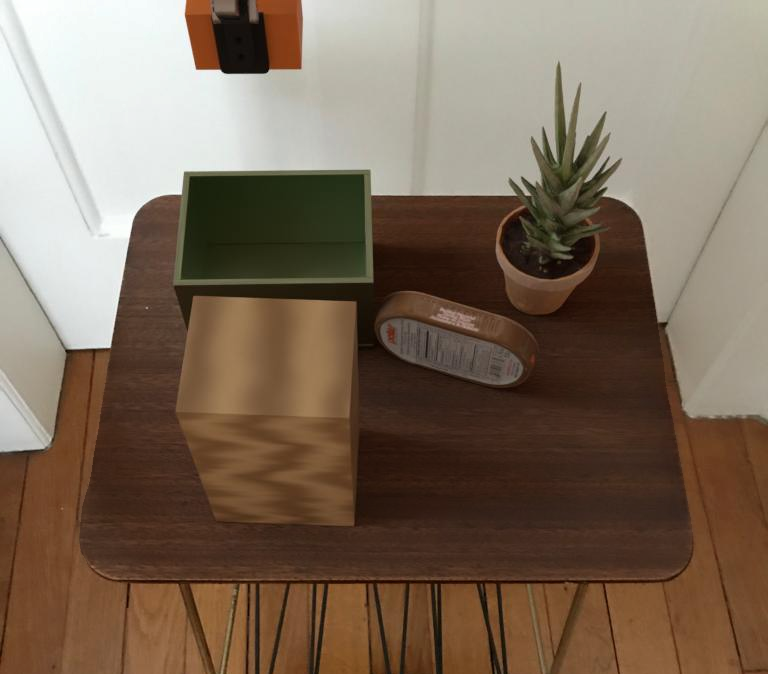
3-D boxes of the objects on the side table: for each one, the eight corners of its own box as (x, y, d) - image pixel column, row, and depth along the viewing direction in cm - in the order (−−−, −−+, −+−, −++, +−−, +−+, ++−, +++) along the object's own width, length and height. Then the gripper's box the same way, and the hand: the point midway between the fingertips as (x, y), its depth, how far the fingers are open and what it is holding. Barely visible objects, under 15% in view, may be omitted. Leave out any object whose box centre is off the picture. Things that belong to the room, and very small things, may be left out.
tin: (531, 377, 85) (547, 321, 77) (523, 403, 83) (538, 350, 76) (381, 333, 87) (382, 275, 79) (370, 358, 85) (370, 302, 78)
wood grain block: (216, 521, 78) (175, 411, 62) (228, 422, 82) (193, 295, 66) (354, 526, 78) (349, 417, 62) (359, 427, 82) (356, 301, 66)
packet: (195, 70, 59) (184, 14, 56) (200, 19, 62) (190, -38, 58) (301, 69, 60) (296, 13, 56) (303, 19, 62) (298, -38, 58)
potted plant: (487, 252, 91) (524, 30, 69) (580, 255, 91) (648, 35, 69) (488, 332, 87) (528, 124, 65) (586, 336, 87) (660, 128, 65)
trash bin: (373, 348, 86) (373, 282, 77) (193, 351, 86) (173, 285, 77) (370, 241, 92) (370, 169, 83) (201, 244, 91) (183, 171, 83)
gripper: (140, -378, 48) (200, -40, 64) (103, -195, 40) (182, 133, 57) (281, -377, 48) (305, -40, 64) (270, -196, 40) (300, 132, 57)
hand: (247, 38), depth 60 cm, fingers closed on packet, 5 cm apart
